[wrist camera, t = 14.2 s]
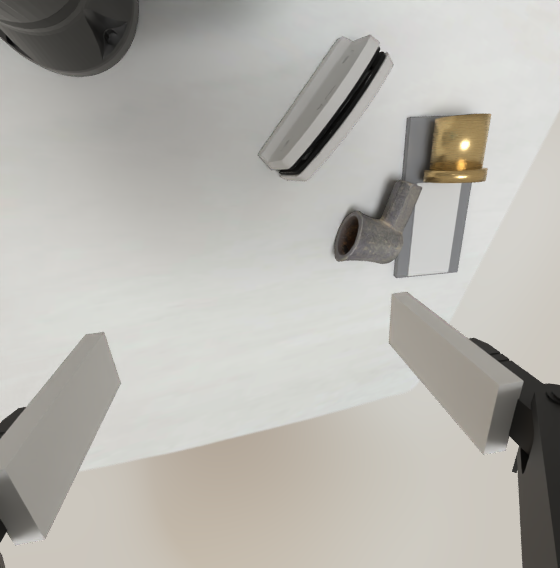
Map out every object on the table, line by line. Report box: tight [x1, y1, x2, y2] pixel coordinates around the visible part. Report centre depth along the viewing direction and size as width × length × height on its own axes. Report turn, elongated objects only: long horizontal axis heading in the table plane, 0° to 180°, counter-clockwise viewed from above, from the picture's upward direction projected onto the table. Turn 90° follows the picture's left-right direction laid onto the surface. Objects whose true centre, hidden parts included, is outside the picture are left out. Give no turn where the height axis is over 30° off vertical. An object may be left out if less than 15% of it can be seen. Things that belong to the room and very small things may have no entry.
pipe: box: [335, 180, 422, 264], centre depth 44 cm, size 6×13×8 cm
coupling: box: [423, 114, 491, 183], centre depth 40 cm, size 7×7×7 cm
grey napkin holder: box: [258, 35, 393, 181], centre depth 36 cm, size 17×5×10 cm, turn 142°
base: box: [394, 115, 472, 278], centre depth 46 cm, size 22×10×1 cm, turn 3°
